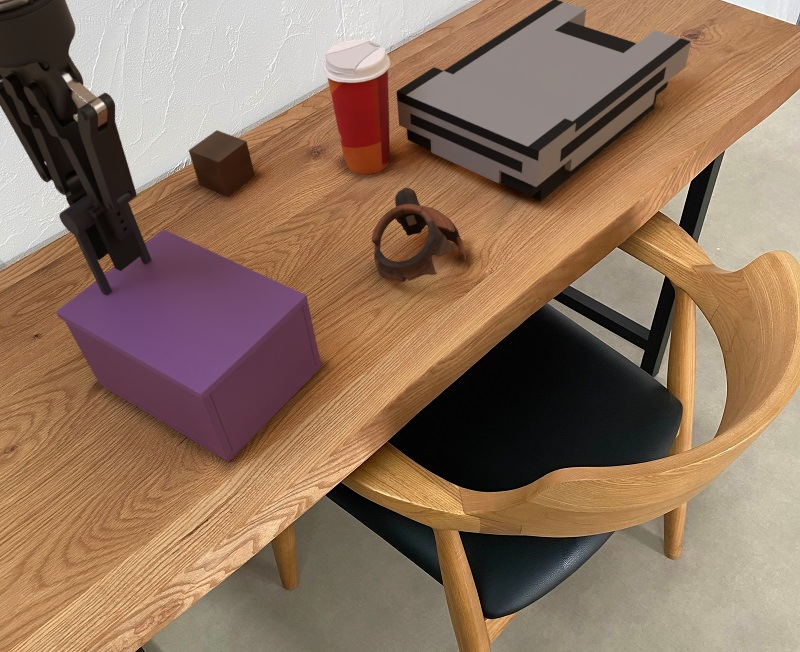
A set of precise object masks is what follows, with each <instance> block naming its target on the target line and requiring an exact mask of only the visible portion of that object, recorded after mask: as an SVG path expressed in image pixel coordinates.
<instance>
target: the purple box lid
mask: <svg viewBox="0 0 800 652" xmlns="http://www.w3.org/2000/svg"><path fill="white" fill-rule="evenodd" d="M92 205H93V204H92V202H91V200H90V198H89V196H88V194H87V195H86V196H84V197H83V198H81V199H80V200H78V201H77V202H75V203H74V204H73V205H71V206H68V207H67V208H65V209H64V210H62V211H61V212H60V213H59V215H58V217H59V220H60V222H61V223H62V225H63V227H65V229H66V230H67V231H68V232H70V233H71V234H72V235H73V236H74V238H75V240H76V242H77V245H78V246H79V248H80V251H81V252H82V254H83V256H84V259H85V260H86V262H87V265H88V267H89V269H90V272H91V273H92V275H93V278H95V281H94V282H92V284H90V285H88V287H86V288H85V289H83V290H82V291H81V292H80V293H78V294H77V295H75V296H74V297H73V298H72V299H70V300H69V301H68V302H66V303H65V304H64V305H63V306H61V307H60V308H58V309H57V310H56V311H55V314H56V316H57V317H58V318H59V320H61V321H64V322H67V323H69V324H70V325H72V326H74V327H76V328H77V329H79V330H81V331H83V332H84V333H86V334H88V335H90V336H91V337H93V338H95V339H97V340H99V341H100V342H102V343H104V344H106V345H107V346H109V347H111V348H113V349H114V350H116V351H118V352H120V353H121V354H123V355H125V356H127V357H128V358H130V359H132V360H134V361H135V362H137V363H139V364H141V365H142V366H144V367H146V368H148V369H149V370H151V371H153V372H155V373H156V374H158V375H160V376H162V377H163V378H165V379H167V380H169V381H170V382H172V383H174V384H176V385H177V386H179V387H181V388H183V389H184V390H186V391H188V392H190V393H191V394H193V395H195V396H197V397H198V398H200V399H202V400H204V399H205V398H206V397H208V396H209V395H210V394H211V393H212V392H213V391H214V390H215V389H216V388H217V387H218V386H219V385H220V384H221V383H222V382H223V381H224V380H225V379H226V378H228V377H229V376H230V375H231V374H232V373H233V372H234V371H235V370H236V369H237V368H238V367H239V366H240V365H241V364H242V363H243V362H244V361H245V360H247V359H248V358H249V357H250V356H251V355H252V354H253V353H254V352H255V351H256V350H257V349H258V348H259V347H260V346H261V345H262V344H263V343H264V342H266V341H267V340H268V339H269V338H270V337H271V336H272V335H273V334H274V333H275V332H276V331H277V330H278V329H279V328H280V327H281V326H282V325H283V324H284V323H286V322H287V321H288V320H289V319H290V318H291V317H292V316H293V315H294V314H295V313H296V312H297V311H298V310H299V309H300V308H301V307H302V306H303V305H305V304H306V303H307V302H308V295H307V294H305V293H303V292H301V291H300V290H299V291H298V290H296V289H294V288H292V287H290V286H288V285H285V284H283V283H281V282H279V281H277V280H275V279H273V278H270V277H268V276H266V275H264V274H261V273H260V272H257V271H256V270H253V269H250V268H249V267H246V266H244V265H242V264H240V263H238V262H236V261H234V260H231V259H229V258H227V257H225V256H223V255H221V254H219V253H216V252H214V251H213V250H210V249H208V248H206V247H203V246H201V245H200V244H197V243H195V242H192V241H190V240H188V239H186V238H184V237H181V236H179V235H178V234H176V233H173V232H171V231H169V230H167V229H164V228H163V229H161V230H160V231H159V232H158V233H156V234H155V235H154V236H153V237H151V238H150V239H149V240H147V241H146V242H145V240H144V238H143V237H144V236H143V235H142V233H141V230H140V227H139V225H138V222H137V220H136V218H135V215H134V212H133V210H132V207H131V205H130V202H128V203H127V204H126V205H124V208H125V211H126V213H127V216H128V219H129V220H130V223H131V225H132V228H133V231H134V233H135V236H136V238H137V241H138V243H139V246H140V248H141V251H142V253H143V254H142V255H141V256H140V257H139V258H137V259H136V260H135V261H133V262H132V263H131V264H129V265H128V266H127V267H126V268H124V269H123V270H122V271H119V270H117V269H115V267H114V266H113V267H112V268H111V269H110V270H108V271H107V272H106V273H104V271H103V268H102V266H101V264H100V261H99V260H98V259H97V258H96V255H95V253H94V251H93V249H92V247H91V245H90V243H89V240H88V238H87V236H86V234H85V232H84V231H85V230H86V229H88V228H89V227H90V226H92V225H93V224H95V223H94V220H93V218H92V216H91V215H89V213H88V212H87V211H86V209H87V208H89V207H90V206H92ZM308 303H309V302H308Z"/></svg>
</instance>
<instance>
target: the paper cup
mask: <svg viewBox="0 0 800 652" xmlns="http://www.w3.org/2000/svg"><path fill="white" fill-rule="evenodd" d="M390 66H391V59H390V57H389V55H388V54H387V52H386V49H385V47H384V46H383V45H382V46H381V45H380V44H378V43H376V42H374V41H372V40H370V39H364V38H363V39H362V38H361V39H360V38H359V39H349V40H345V41H341V42H339V43H337V44H335V45H333V46H332V47H329V49H328V50H327V52H326V54H325V60H324V63H323V65H322V71H323V73H324V74H325V76H326V78H327V82H328V86H329V93H330V96H331V97H330V98H331V102H332V107H333V111H334V115H335V116H334V117H335V121H336V126H337V131H338V136H339V140H340V145H341V149H342V153H343V158H344V162H345V165H346V167H347V169H348V170H349V171H350V172H352V173H354V174H359V175H372V174H376V173H378V172H381V171H383V170H384V169H386V168H387V166H388V165H389V163H390V155H391V152H390V151H391V149H390V146H391V145H390V144H391V143H390V142H391V141H390V104H389V103H390V100H389V98H390V97H389V68H390Z"/></svg>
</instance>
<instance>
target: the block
mask: <svg viewBox="0 0 800 652" xmlns="http://www.w3.org/2000/svg"><path fill="white" fill-rule="evenodd" d="M188 153H189V157H190V160H191V163H192V166H193V170H194V172H195V176H196V180H197V182H198V185H199V186H200V187H203V188H206V189H207V190H210V191H212V192H215V193H217V194H220V195H222V196H224V197H227V198H229V197H230V196H232V195H233V194H234V193H235V192H237V191H239V190H240V189H241V188H242V187H243V186H244V185H246V184H247V183H248V182H250V181H251V180H252V179H253V178H254V177H256V174H255V170H254V166H253V162H252V158H251V154H250V150H249V145H248V142H247V140H244V139H241V138H239V137H237V136H234V135H231V134H228V133H226V132H223V131H220V130H215V131H213V132H212V133H211V134H209V135H208V136H206V137H205V138H204V139H202V140H201V141H199V142H198V143H197V144H195V145H194V146H192V147H191V148H190V149H188Z"/></svg>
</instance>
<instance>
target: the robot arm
mask: <svg viewBox="0 0 800 652" xmlns="http://www.w3.org/2000/svg"><path fill="white" fill-rule="evenodd" d="M75 35H76V24H75V21H74V18H73V17H72V14H71V11H70V9H69V6H68V3H67V0H0V108H1V110H2V112H3V113H4V115H5V117H6V119H7V120H8V123H9V124H10V126H11V127H12V130H13V131H14V133H15V135H16V136H17V138H18V140H19V142H20V144H21V146H22V147H23V150H24V151H25V152H26V154H27V156H28V158H29V160H30V161H31V163H32V165H33V166H34V169H35V171H36V172H37V174H38V176H39V178H41V180H42V181H43V182H44V183H49V182H51V181H52V182H53V185H54V187H55V190H56V191H57V192H59V194H61V195H62V196H65V199H66V202H67V204H68V207H70V206H71V205H73V204H74V203H75V202H77V201H78V200H80V199H81V198H83V197H84V196H86V195H87V194H88V196H89V198H90V200H91V202H92V204H93V205H92V206H90V207H89V208H87V209H86V211H87V212H88V213H89V215H91V216H92V218H93V220H94V223H95V224H93V225H92V226H90V227H89V228H88V229H86V230H85V231H84V232H85V234H86V236H87V238H88V240H89V243H90V245H91V247H92V249H93V251H94V253H95V255H96V258H97V260H98V261H101V260H102V259H103V258H104V257H106V256H107V255H108V256H109V258H110V260H111V262H112V264H113V267H115V269H117V270H119V271H122V270H123V269H124V268H126V267H127V266H128V265H129V264H131V263H132V262H133V261H135V260H136V259H137V258H139V257H140V256H141V255H142V254H143V253H142V251H141V248H140V246H139V243H138V241H137V238H136V236H135V233H134V231H133V228H132V225H131V223H130V220H129V219H128V216H127V213H126V211H125V208H124V205H126V204H127V203H128V202H129V203H130V202H131V201H132V200H134V199H135V198H137V195H138V194H137V190H136V187H135V184H134V181H133V177H132V174H131V171H130V167H129V163H128V160H127V157H126V153H125V150H124V147H123V143H122V140H121V137H120V133H119V130H118V126H117V124H116V104H115V101H114V99H113V97H112V96H111V95H110V94H109V93H107V92H103V93H102V94H99V95H98V96H96V95H95V94H94V93H93V92H92V91H91V90H89V89H88V88H87V87H86V86H84V78H83V76H82V73H81V71H80V70H79V69H78V67H77V66H76V64H75V63H74V61H73V59H72V57H71V56H70V47H71V44H72V42H73V40H74V38H75Z"/></svg>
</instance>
